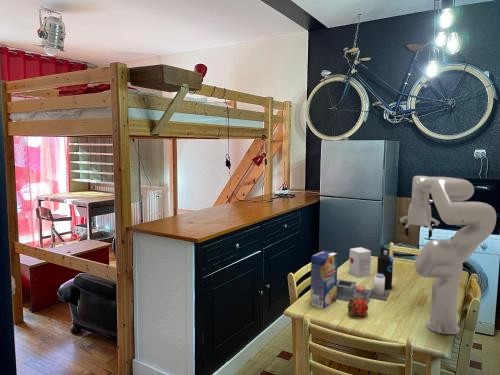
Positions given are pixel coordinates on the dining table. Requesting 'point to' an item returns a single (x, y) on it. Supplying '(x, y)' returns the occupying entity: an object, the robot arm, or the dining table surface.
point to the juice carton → (323, 279)
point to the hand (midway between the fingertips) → (418, 237)
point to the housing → (350, 291)
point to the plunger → (360, 289)
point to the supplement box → (359, 262)
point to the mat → (380, 296)
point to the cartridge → (379, 284)
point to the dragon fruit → (358, 306)
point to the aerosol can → (385, 269)
